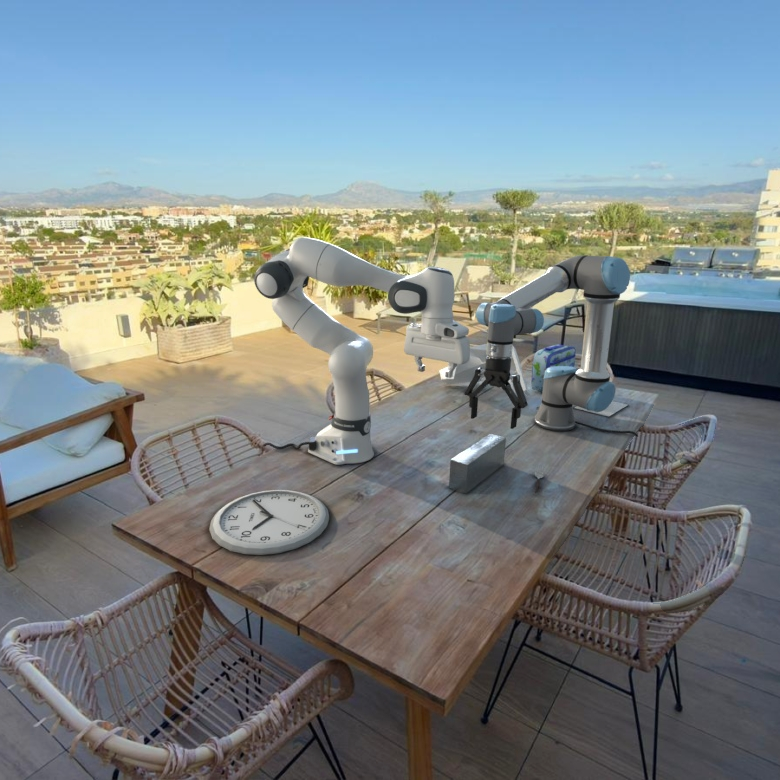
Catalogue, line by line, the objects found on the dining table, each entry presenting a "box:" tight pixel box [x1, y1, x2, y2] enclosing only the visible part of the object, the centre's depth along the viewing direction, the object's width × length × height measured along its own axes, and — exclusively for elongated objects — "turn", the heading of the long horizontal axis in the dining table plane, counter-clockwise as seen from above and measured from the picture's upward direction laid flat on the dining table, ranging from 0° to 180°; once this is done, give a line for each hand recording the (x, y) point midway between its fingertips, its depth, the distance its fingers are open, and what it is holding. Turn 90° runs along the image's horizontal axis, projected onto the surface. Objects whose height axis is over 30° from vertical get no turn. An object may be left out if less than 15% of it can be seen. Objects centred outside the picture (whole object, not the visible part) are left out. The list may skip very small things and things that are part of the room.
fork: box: [534, 465, 545, 494], centre depth 157 cm, size 3×16×2 cm, turn 160°
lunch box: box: [530, 344, 577, 392], centre depth 247 cm, size 26×11×21 cm, turn 134°
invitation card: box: [573, 400, 629, 418], centre depth 226 cm, size 21×1×15 cm
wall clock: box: [209, 489, 330, 556], centre depth 135 cm, size 30×2×30 cm
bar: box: [448, 433, 507, 494], centre depth 160 cm, size 25×6×9 cm, turn 143°
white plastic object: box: [438, 343, 531, 397], centre depth 245 cm, size 37×45×31 cm
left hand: (434, 374), depth 151 cm, fingers open, 8 cm apart
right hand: (493, 422), depth 163 cm, fingers open, 13 cm apart
